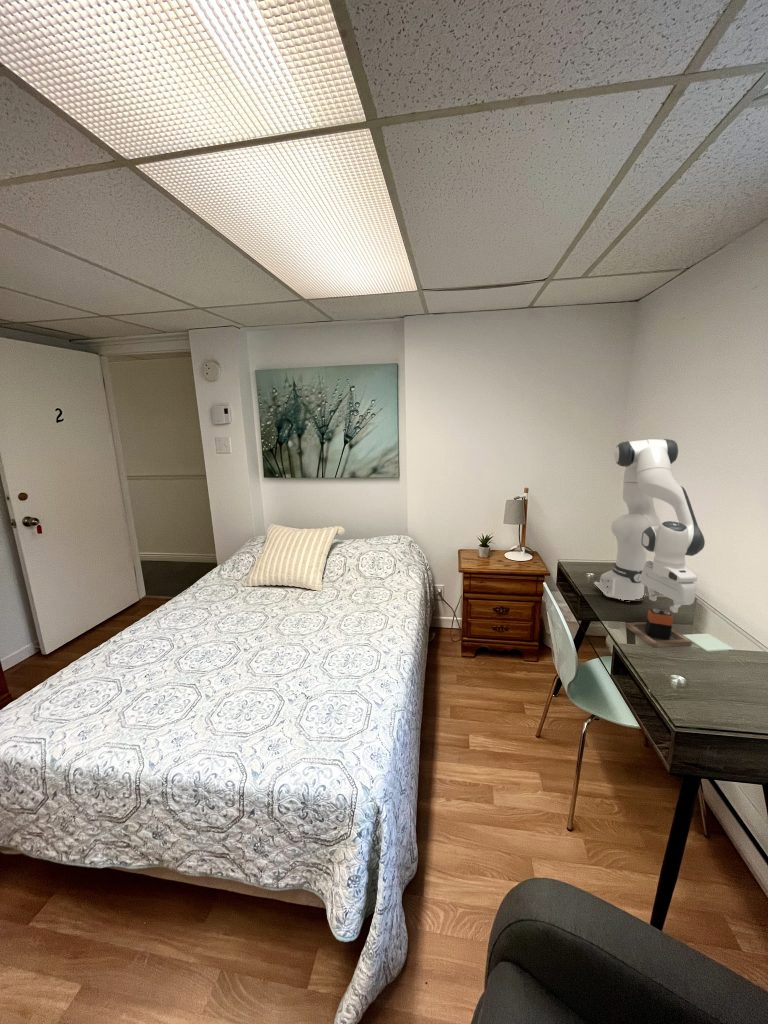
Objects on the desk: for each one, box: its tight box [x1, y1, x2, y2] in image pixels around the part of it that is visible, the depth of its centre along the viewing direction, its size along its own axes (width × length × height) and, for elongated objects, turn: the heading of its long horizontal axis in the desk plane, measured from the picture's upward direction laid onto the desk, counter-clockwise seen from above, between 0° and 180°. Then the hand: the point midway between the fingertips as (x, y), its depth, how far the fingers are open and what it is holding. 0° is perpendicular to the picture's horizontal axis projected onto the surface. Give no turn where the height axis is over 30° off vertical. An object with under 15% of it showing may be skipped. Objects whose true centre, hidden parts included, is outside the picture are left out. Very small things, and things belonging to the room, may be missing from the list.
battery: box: [644, 608, 674, 640], centre depth 141 cm, size 4×7×10 cm, turn 70°
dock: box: [625, 621, 693, 648], centre depth 142 cm, size 14×14×2 cm
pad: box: [682, 633, 735, 653], centre depth 137 cm, size 10×10×1 cm
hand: (662, 605), depth 139 cm, fingers open, 8 cm apart
